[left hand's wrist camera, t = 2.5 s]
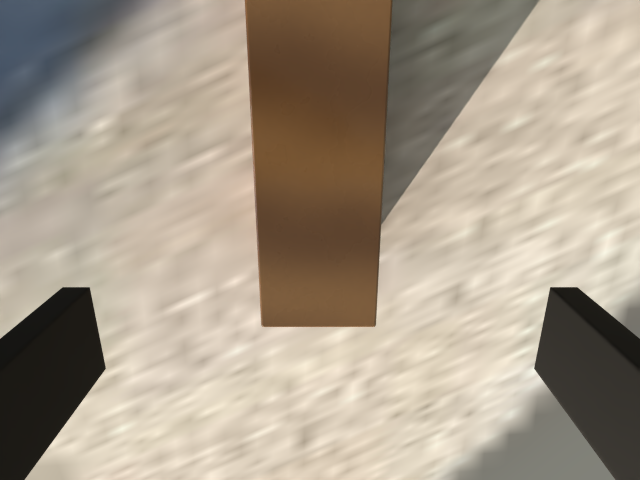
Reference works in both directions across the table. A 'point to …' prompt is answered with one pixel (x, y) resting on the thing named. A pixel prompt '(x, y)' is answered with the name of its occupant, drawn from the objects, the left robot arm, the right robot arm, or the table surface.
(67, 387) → the left robot arm
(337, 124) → the post
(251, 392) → the table surface
